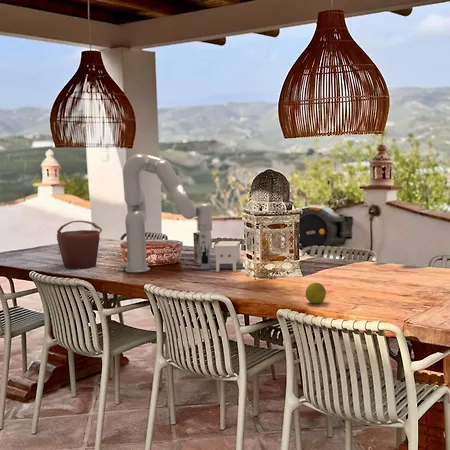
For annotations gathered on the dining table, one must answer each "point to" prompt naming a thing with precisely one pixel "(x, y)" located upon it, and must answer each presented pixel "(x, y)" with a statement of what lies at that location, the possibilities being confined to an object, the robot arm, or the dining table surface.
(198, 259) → the coffee box
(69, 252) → the bucket
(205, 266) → the blue-grey u-shaped bracket
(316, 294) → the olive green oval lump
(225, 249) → the cabinet
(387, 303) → the dining table surface
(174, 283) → the dining table surface
